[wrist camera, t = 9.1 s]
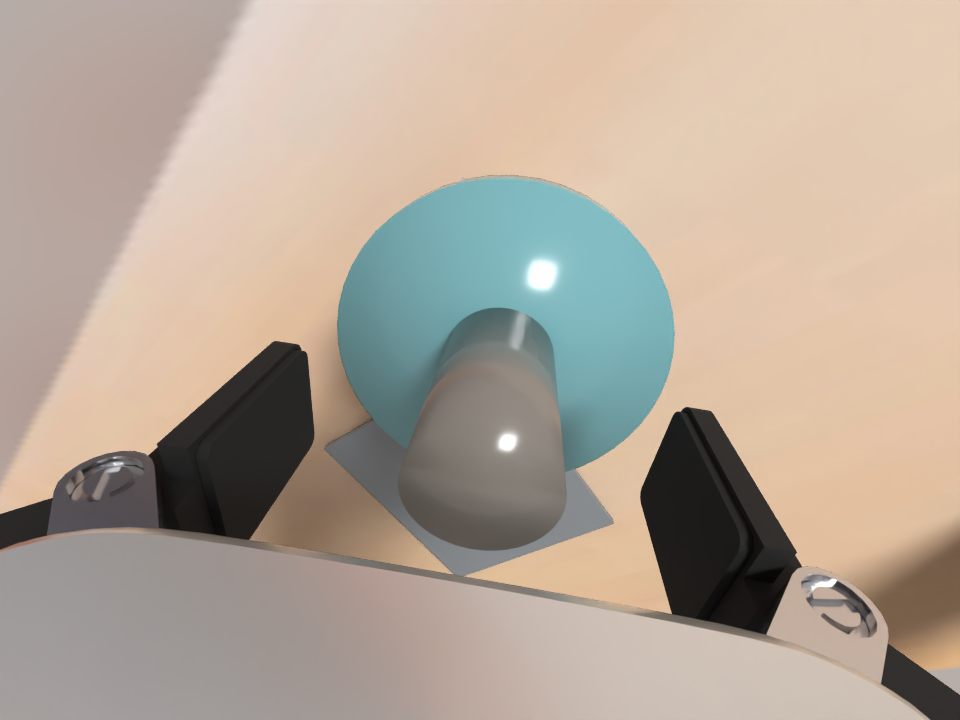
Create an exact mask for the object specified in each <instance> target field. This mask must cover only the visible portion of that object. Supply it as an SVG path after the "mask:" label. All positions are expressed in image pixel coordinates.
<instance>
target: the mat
mask: <svg viewBox="0 0 960 720" xmlns="http://www.w3.org/2000/svg"><path fill="white" fill-rule="evenodd" d="M324 449H325V450H326V451H327V452H328V453H329V454H330V455H331V456H332V457H333V458H334V459H335V460H336V461H337V462H338V463H339V464H340V465H341V466H342V467H343V468H344V469H346V470H347V471H348V472H349V473H350V474H351V475H352V476H353V477H354V478H355V479H356V480H357V481H358V482H359V483H360V484H361V485H362V486H363V487H364V488H365V489H366V490H367V491H368V492H369V493H370V494H371V495H372V496H373V497H375V498H376V499H377V500H378V501H379V502H380V503H381V504H382V505H383V506H384V507H385V508H386V509H387V510H388V511H389V512H390V513H391V514H392V515H393V516H394V517H395V518H396V519H397V520H398V521H399V522H400V523H401V524H402V525H404V526H405V527H406V528H407V529H408V530H409V531H410V532H411V533H412V534H413V535H414V536H415V537H416V538H417V539H418V540H419V541H420V542H421V543H422V544H423V545H424V546H425V547H426V548H427V549H428V550H429V551H430V552H431V553H432V554H434V555H435V556H436V557H437V558H438V559H439V560H440V561H441V562H442V563H443V564H444V565H445V566H446V567H447V568H448V569H449V570H450V571H451V572H452V573H453V574H454V575H458V576H465V575H468V574H471V573H474V572H477V571H480V570H483V569H485V568H488V567H491V566H494V565H497V564H500V563H503V562H506V561H508V560H511V559H514V558H517V557H520V556H523V555H526V554H528V553H531V552H534V551H537V550H540V549H543V548H546V547H548V546H551V545H554V544H557V543H560V542H563V541H566V540H568V539H571V538H574V537H577V536H580V535H583V534H586V533H589V532H591V531H594V530H597V529H600V528H603V527H606V526H609V525H611V524H614V523H613V519H612V518H611V516H610V515H609V514H608V512H607V511H606V510H605V508H604V507H603V506H602V504H601V503H600V502H599V500H598V499H597V498H596V496H595V495H594V494H593V492H592V491H591V490H590V488H589V487H588V486H587V484H586V483H585V482H584V480H583V479H582V478H581V476H580V475H579V474H578V472H577V471H576V470H575V469H573V470H570V471H567V472H565V478H566V489H567V501H566V507H565V510H564V513H563V515H562V517H561V519H560V520H559V522H558V523H557V524H556V526H555V527H554V528H553V529H552V530H551V531H550V532H548V533H547V534H546V535H544V536H543V537H542V538H540V539H538V540H536V541H534V542H532V543H530V544H527V545H525V546H521V547H518V548H513V549H508V550H499V551H484V550H474V549H468V548H464V547H460V546H457V545H454V544H451V543H448V542H446V541H444V540H441V539H439V538H437V537H436V536H434V535H432V534H430V533H429V532H428V531H426V530H425V529H423V528H422V527H421V526H420V525H419V524H418V523H417V522H416V521H415V520H414V519H413V518H412V517H411V516H410V515H409V513H408V512H407V510H406V509H405V507H404V505H403V503H402V501H401V498H400V495H399V490H398V475H399V470H400V467H401V465H402V462H403V459H404V457H405V454H406V451H407V449H406V448H404V447H403V446H402V445H400V444H399V443H398V442H396V441H395V440H394V439H393V438H391V437H390V436H389V435H388V434H387V433H386V432H385V431H384V430H383V429H382V428H381V427H380V426H379V425H378V424H377V423H376V422H375V421H374V420H373V419H372V420H370V421H369V422H367V423H365V424H363V425H361V426H360V427H358V428H356V429H354V430H353V431H351V432H349V433H347V434H345V435H344V436H342V437H340V438H338V439H337V440H335V441H333V442H331V443H329V444H328V445H326V447H325V448H324Z"/></svg>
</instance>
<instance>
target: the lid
mask: <svg viewBox="0 0 960 720" xmlns="http://www.w3.org/2000/svg"><path fill="white" fill-rule="evenodd" d="M337 329H338V344H339V349H340V354H341V359H342V363H343V366H344V369H345V372H346V375H347V378H348V380H349V382H350V384H351V386H352V388H353V390H354V392H355V394H356V396H357V398H358V399H359V401H360V402H361V404H362V405H363V407H364V408H365V410H366V411H367V412H368V414H369V415H370V416H371V417H372V418H373V420H374V421H375V422H376V423H377V424H378V425H379V426H380V427H381V428H382V429H383V430H384V431H385V432H386V433H387V434H388V435H389V436H390V437H391V438H393V439H394V440H395V441H396V442H398V443H399V444H400V445H402V446H403V447H404V448H406V449H407V451H406V454H405V457H404V459H403V462H402V465H401V467H400V470H399V475H398V490H399V495H400V498H401V501H402V503H403V505H404V507H405V509H406V510H407V512H408V513H409V515H410V516H411V517H412V518H413V519H414V520H415V521H416V522H417V523H418V524H419V525H420V526H421V527H422V528H423V529H425V530H426V531H428V532H429V533H430V534H432V535H434V536H436V537H437V538H439V539H441V540H444V541H446V542H448V543H451V544H454V545H457V546H460V547H464V548H468V549H474V550H484V551H499V550H508V549H513V548H518V547H521V546H525V545H527V544H530V543H532V542H534V541H536V540H538V539H540V538H542V537H543V536H544V535H546V534H547V533H548V532H550V531H551V530H552V529H553V528H554V527H555V526H556V524H557V523H558V522H559V520H560V519H561V517H562V515H563V513H564V510H565V507H566V501H567V489H566V478H565V472H567V471H570V470H573V469H576V468H579V467H581V466H583V465H585V464H587V463H589V462H592V461H594V460H596V459H598V458H599V457H601V456H603V455H604V454H606V453H607V452H609V451H611V450H612V449H614V448H615V447H616V446H617V445H619V444H620V443H621V442H622V441H624V440H625V439H626V438H627V437H628V436H629V435H630V434H631V433H632V432H633V431H634V430H635V429H636V428H637V427H638V426H639V425H640V424H641V423H642V422H643V420H644V419H645V418H646V416H647V415H648V414H649V412H650V411H651V410H652V408H653V406H654V405H655V403H656V401H657V399H658V397H659V396H660V394H661V392H662V390H663V387H664V385H665V382H666V379H667V377H668V374H669V370H670V366H671V361H672V357H673V350H674V335H675V332H674V321H673V311H672V307H671V303H670V299H669V295H668V291H667V289H666V286H665V284H664V282H663V279H662V277H661V275H660V272H659V270H658V268H657V267H656V265H655V264H654V262H653V260H652V259H651V257H650V256H649V254H648V252H647V251H646V249H645V248H644V247H643V246H642V245H641V244H640V242H639V241H638V240H637V239H636V238H635V236H634V235H633V234H632V233H631V232H630V231H629V230H628V228H627V227H626V226H625V225H624V224H623V223H622V222H621V221H620V220H619V219H618V218H617V217H615V216H614V215H613V214H612V213H611V212H610V211H608V210H607V209H606V208H605V207H603V206H602V205H600V204H599V203H597V202H595V201H594V200H592V199H591V198H589V197H587V196H586V195H584V194H582V193H580V192H577V191H575V190H573V189H571V188H568V187H566V186H564V185H561V184H558V183H554V182H550V181H547V180H543V179H540V178H533V177H526V176H518V175H488V176H482V177H475V178H469V179H464V180H461V181H457V182H454V183H451V184H448V185H444V186H442V187H440V188H438V189H435V190H433V191H431V192H429V193H427V194H425V195H423V196H421V197H420V198H418V199H417V200H415V201H414V202H412V203H411V204H409V205H408V206H406V207H404V208H403V209H402V210H400V211H399V212H398V213H396V214H395V215H393V216H392V217H391V218H390V219H389V220H388V221H387V222H386V223H385V224H383V225H382V226H381V227H380V228H379V229H378V230H377V231H376V232H375V233H374V234H373V235H372V237H371V238H370V239H369V240H368V242H367V243H366V244H365V245H364V246H363V248H362V249H361V251H360V252H359V254H358V256H357V258H356V259H355V261H354V263H353V264H352V266H351V268H350V271H349V273H348V276H347V278H346V281H345V283H344V286H343V290H342V294H341V298H340V302H339V309H338V321H337Z"/></svg>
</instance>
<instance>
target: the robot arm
mask: <svg viewBox="0 0 960 720" xmlns="http://www.w3.org/2000/svg"><path fill="white" fill-rule="evenodd" d="M313 440H314V424H313V412H312V401H311V390H310V378H309V367H308V356H307V353H306V352H305V351H301V348H300V346H299V345H298V344H291V343H285V342H279V341H274V342H273V343H271V344H270V345H269V346H268V347H267V348H266V349H264V350H263V351H262V352H261V353H260V354H259V355H258V356H256V357H255V358H254V359H253V360H252V361H251V362H250V363H248V364H247V365H246V366H245V367H244V368H243V369H242V370H240V371H239V372H238V373H237V374H236V375H235V376H234V377H232V378H231V379H230V380H229V381H228V382H227V383H226V384H224V385H223V386H222V387H221V388H220V389H219V390H218V391H217V392H215V393H214V394H213V395H212V396H211V397H210V398H209V399H207V400H206V401H205V402H204V403H203V404H202V405H201V406H199V407H198V408H197V409H196V410H195V411H194V412H193V413H191V414H190V415H189V416H188V417H187V418H186V419H185V420H183V421H182V422H181V423H180V424H179V425H178V426H177V427H176V428H174V429H173V430H172V431H171V432H170V433H169V434H168V435H166V436H165V437H164V438H163V439H162V440H161V441H160V442H158V443H157V446H158V447H157V448H156V449H155V450H154V451H153V452H152V453H151V454H150V455H148V456H147V455H146V454H144V453H140V452H136V451H119V452H113V453H107V454H104V455H101V456H98V457H95V458H92V459H90V460H88V461H86V462H83V463H81V464H79V465H78V466H76V467H75V468H73V469H72V470H70V471H69V472H68V473H66V474H65V475H64V476H63V477H62V479H61V480H60V481H59V482H58V483H57V485H56V488H55V490H54V493H53V498H51V499H48V500H44V501H41V502H38V503H35V504H32V505H28V506H25V507H22V508H19V509H15V510H12V511H9V512H6V513H3V514H0V720H960V695H959V694H958V693H956V692H955V691H953V690H952V689H951V688H949V687H948V686H947V685H945V684H944V683H942V682H941V681H940V680H938V679H937V678H935V677H934V676H933V675H931V674H930V673H928V672H927V671H926V670H924V669H923V668H921V667H920V666H919V665H917V664H916V663H914V662H913V661H912V660H910V659H909V658H907V657H906V656H905V655H903V654H902V653H900V652H899V651H898V650H896V649H895V648H893V647H892V646H891V645H889V644H888V638H889V635H888V626H887V624H886V622H885V620H884V618H883V616H882V614H881V612H880V611H879V610H878V609H877V607H876V606H875V605H874V603H873V602H872V601H871V600H870V599H869V598H868V597H867V596H866V595H865V594H864V593H863V592H862V591H860V590H859V589H858V588H857V587H855V586H854V585H852V584H851V583H850V582H848V581H847V580H846V579H844V578H842V577H840V576H838V575H836V574H834V573H832V572H830V571H827V570H824V569H821V568H818V567H809V566H805V567H802V566H801V564H800V563H799V561H798V559H797V558H796V556H795V554H796V553H797V552H796V550H795V548H794V547H793V545H792V543H791V542H790V540H789V538H788V537H787V535H786V533H785V532H784V530H783V528H782V527H781V525H780V523H779V522H778V520H777V519H776V517H775V515H774V514H773V512H772V510H771V509H770V507H769V505H768V504H767V502H766V500H765V499H764V497H763V495H762V494H761V492H760V490H759V489H758V487H757V485H756V484H755V482H754V480H753V479H752V477H751V475H750V474H749V472H748V471H747V469H746V467H745V466H744V464H743V462H742V461H741V459H740V457H739V456H738V454H737V452H736V451H735V449H734V447H733V446H732V444H731V442H730V441H729V439H728V437H727V436H726V434H725V432H724V431H723V429H722V427H721V426H720V424H719V423H718V421H717V419H716V418H715V416H714V414H713V413H712V412H711V411H708V410H702V409H696V408H689V407H686V408H684V409H683V410H682V411H681V412H676V413H675V414H674V415H673V417H672V419H671V422H670V424H669V426H668V429H667V431H666V433H665V435H664V438H663V440H662V442H661V445H660V447H659V449H658V452H657V454H656V456H655V459H654V461H653V463H652V466H651V468H650V470H649V472H648V475H647V477H646V479H645V482H644V484H643V486H642V489H641V495H640V499H641V505H642V508H643V512H644V516H645V519H646V523H647V526H648V530H649V533H650V537H651V541H652V544H653V548H654V551H655V555H656V558H657V562H658V566H659V569H660V573H661V576H662V580H663V583H664V587H665V591H666V594H667V598H668V601H669V605H670V609H671V612H672V614H668V613H663V612H658V611H653V610H648V609H643V608H637V607H632V606H626V605H621V604H615V603H609V602H604V601H598V600H593V599H587V598H582V597H576V596H571V595H565V594H560V593H554V592H549V591H543V590H538V589H532V588H526V587H521V586H515V585H509V584H504V583H498V582H492V581H487V580H481V579H475V578H470V577H464V576H458V575H453V574H447V573H441V572H435V571H430V570H424V569H418V568H412V567H407V566H401V565H395V564H389V563H383V562H378V561H372V560H366V559H360V558H354V557H348V556H342V555H336V554H330V553H324V552H318V551H313V550H307V549H301V548H295V547H289V546H283V545H277V544H271V543H264V542H258V541H251V540H249V539H250V538H251V536H252V535H253V533H254V532H255V530H256V529H257V527H258V526H259V524H260V523H261V521H262V520H263V518H264V517H265V515H266V514H267V512H268V511H269V509H270V508H271V506H272V505H273V503H274V502H275V500H276V499H277V497H278V496H279V494H280V493H281V491H282V490H283V488H284V487H285V485H286V484H287V482H288V481H289V479H290V478H291V476H292V475H293V473H294V472H295V470H296V469H297V467H298V466H299V464H300V463H301V461H302V460H303V458H304V457H305V455H306V454H307V452H308V451H309V449H310V447H311V446H312V443H313Z"/></svg>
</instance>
